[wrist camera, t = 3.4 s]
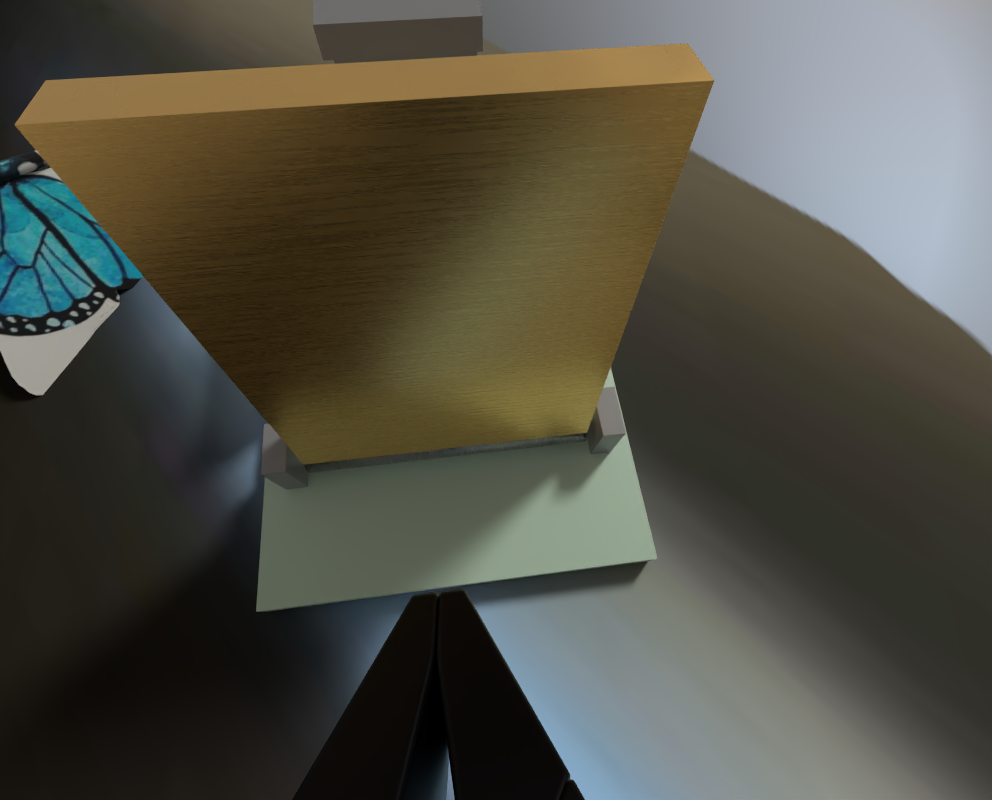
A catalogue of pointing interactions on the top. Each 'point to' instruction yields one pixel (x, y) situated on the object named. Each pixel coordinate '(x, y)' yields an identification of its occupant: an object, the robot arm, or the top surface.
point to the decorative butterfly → (51, 272)
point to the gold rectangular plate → (392, 231)
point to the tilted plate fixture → (452, 480)
